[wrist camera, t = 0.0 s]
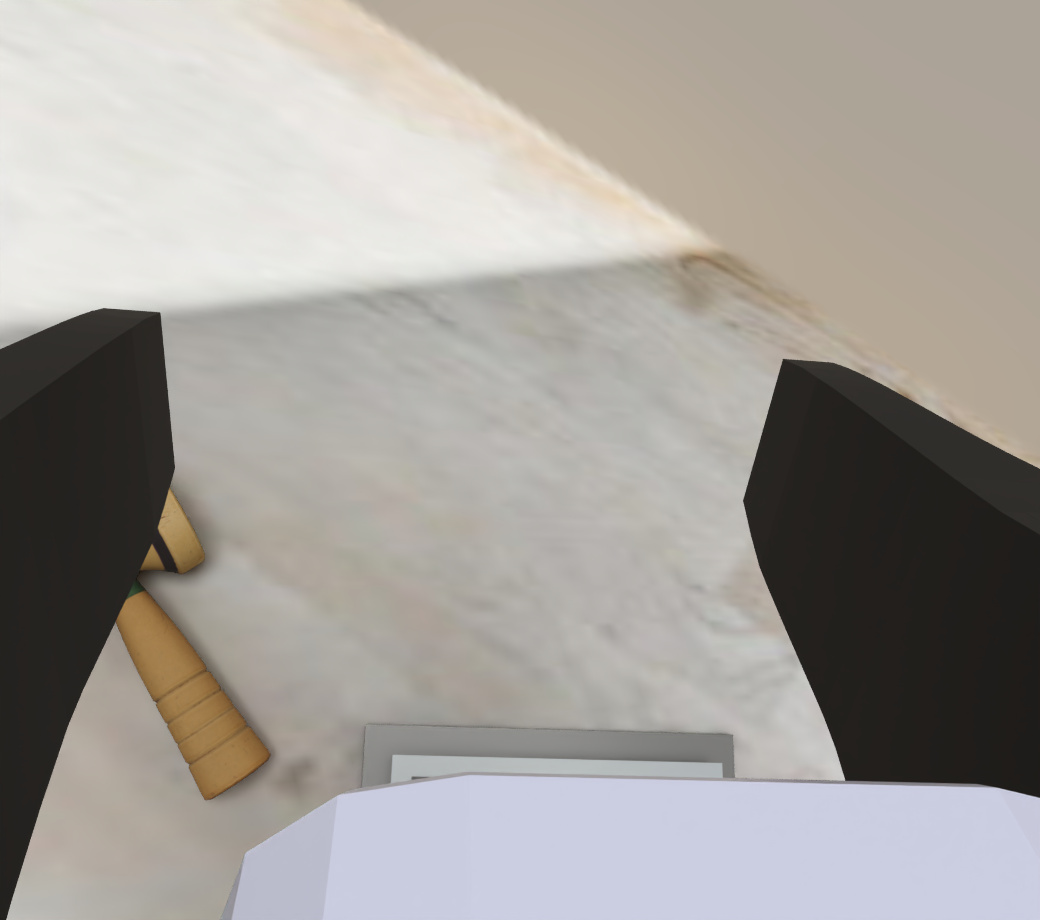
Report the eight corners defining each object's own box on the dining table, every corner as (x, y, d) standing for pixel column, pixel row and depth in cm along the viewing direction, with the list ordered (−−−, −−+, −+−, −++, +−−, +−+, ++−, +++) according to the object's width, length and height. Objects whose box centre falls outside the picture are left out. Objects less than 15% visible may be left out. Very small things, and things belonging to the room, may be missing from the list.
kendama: (338, 705, 42) (119, 368, 43) (315, 735, 36) (59, 339, 37) (187, 807, 42) (-33, 463, 42) (137, 855, 35) (-121, 450, 36)
